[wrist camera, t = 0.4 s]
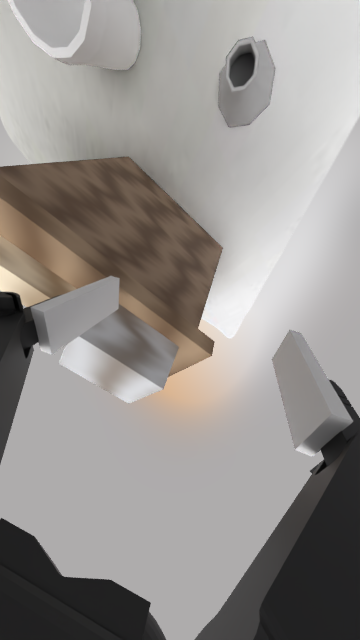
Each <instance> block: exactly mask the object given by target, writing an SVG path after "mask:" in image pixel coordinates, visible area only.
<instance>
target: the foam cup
mask: <svg viewBox="0 0 360 640" xmlns="http://www.w3.org/2000/svg"><path fill="white" fill-rule="evenodd" d="M8 2H9V4H10V7H11V9H12V12H13V14H14V15H15V17H16V18H17V20H18V21H19V22H20V24H21V25H22V27H23V28H24V30H25V31H26V33H27V34H28V36H29V37H30V39H31V40H32V42H33V43H34V44H35V45H37V46H38V47H39V48H41V49H42V50H43V51H45V52H46V53H47V54H49V55H50V56H51V57H52V58H54V59H57V60H59V61H61V62H63V63H66V64H68V65H89V66H95V67H101V68H107V69H113V70H128V69H129V68H130V67H131V66H132V65H133V64H134V63H135V62H136V59H137V56H138V53H139V51H140V42H141V26H140V21H139V15H138V10H137V8H136V6H135V4H134V1H133V0H8Z"/></svg>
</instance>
